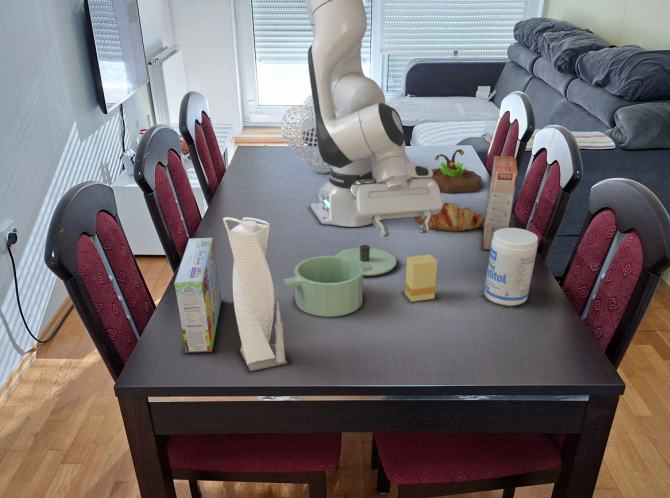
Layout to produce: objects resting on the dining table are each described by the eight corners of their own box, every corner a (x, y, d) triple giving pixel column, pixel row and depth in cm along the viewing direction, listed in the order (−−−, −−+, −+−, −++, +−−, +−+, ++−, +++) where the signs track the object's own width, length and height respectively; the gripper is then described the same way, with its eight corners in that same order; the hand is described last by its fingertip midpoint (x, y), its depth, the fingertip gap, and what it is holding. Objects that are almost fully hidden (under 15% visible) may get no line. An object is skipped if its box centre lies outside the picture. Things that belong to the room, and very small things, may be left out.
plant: (486, 193, 206) (490, 158, 200) (424, 193, 206) (427, 157, 201) (476, 175, 223) (479, 142, 218) (419, 174, 224) (421, 141, 218)
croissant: (486, 235, 185) (488, 207, 184) (492, 231, 175) (494, 201, 174) (411, 231, 186) (413, 203, 185) (413, 227, 176) (415, 197, 175)
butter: (404, 293, 145) (406, 256, 141) (427, 290, 147) (430, 253, 142) (411, 301, 142) (413, 264, 137) (434, 298, 144) (438, 261, 139)
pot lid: (321, 258, 162) (321, 241, 159) (376, 247, 168) (376, 230, 166) (351, 282, 150) (351, 264, 148) (408, 270, 156) (409, 252, 154)
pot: (274, 296, 144) (272, 265, 140) (353, 279, 152) (354, 249, 148) (300, 325, 133) (299, 292, 129) (385, 305, 141) (386, 273, 137)
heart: (280, 179, 217) (277, 110, 206) (285, 166, 231) (282, 100, 219) (364, 180, 217) (365, 111, 206) (363, 167, 231) (365, 101, 219)
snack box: (196, 302, 141) (187, 237, 133) (222, 301, 141) (215, 236, 134) (183, 354, 123) (172, 282, 115) (213, 352, 123) (204, 281, 116)
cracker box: (506, 252, 166) (518, 171, 155) (482, 250, 167) (492, 169, 156) (505, 232, 178) (517, 156, 167) (483, 230, 179) (493, 154, 168)
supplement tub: (475, 296, 145) (483, 234, 137) (500, 284, 150) (509, 223, 143) (511, 311, 139) (522, 247, 131) (536, 298, 144) (547, 236, 137)
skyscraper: (242, 372, 118) (230, 226, 103) (231, 351, 124) (217, 210, 109) (287, 363, 121) (280, 219, 106) (273, 342, 127) (265, 204, 112)
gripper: (352, 174, 142) (363, 232, 139) (438, 168, 147) (451, 224, 144) (346, 188, 148) (357, 244, 145) (429, 181, 153) (442, 236, 150)
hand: (405, 234), depth 145 cm, fingers open, 8 cm apart
